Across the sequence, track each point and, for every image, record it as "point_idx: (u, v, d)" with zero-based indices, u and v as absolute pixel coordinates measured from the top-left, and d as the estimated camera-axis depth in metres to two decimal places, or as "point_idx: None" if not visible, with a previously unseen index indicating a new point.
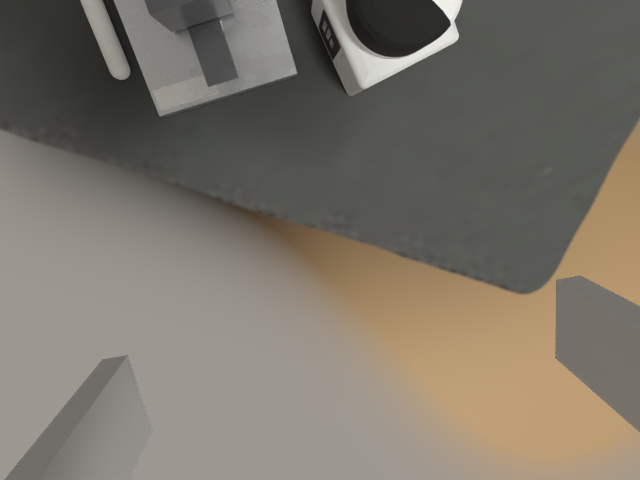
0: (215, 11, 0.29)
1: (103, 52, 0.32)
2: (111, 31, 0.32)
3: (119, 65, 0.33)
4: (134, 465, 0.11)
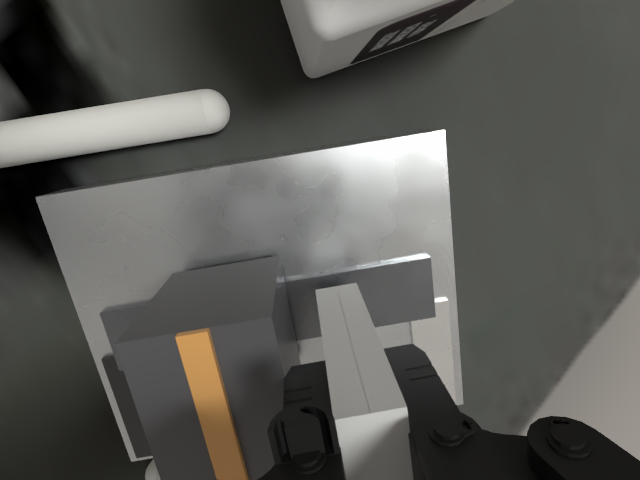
0: (283, 301, 0.14)
1: None
2: None
3: None
4: None
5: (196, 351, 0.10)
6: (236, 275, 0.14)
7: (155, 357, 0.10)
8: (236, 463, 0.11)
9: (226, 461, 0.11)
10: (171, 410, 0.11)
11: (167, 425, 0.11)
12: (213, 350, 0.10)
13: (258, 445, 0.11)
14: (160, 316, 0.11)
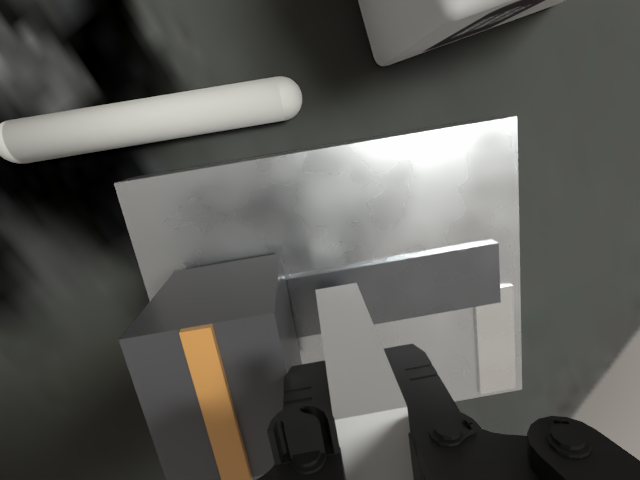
0: (284, 298, 0.14)
1: None
2: None
3: None
4: None
5: (200, 346, 0.10)
6: (237, 272, 0.14)
7: (159, 353, 0.10)
8: (239, 457, 0.11)
9: (229, 456, 0.11)
10: (174, 406, 0.11)
11: (171, 421, 0.11)
12: (215, 346, 0.10)
13: (260, 440, 0.11)
14: (163, 313, 0.11)
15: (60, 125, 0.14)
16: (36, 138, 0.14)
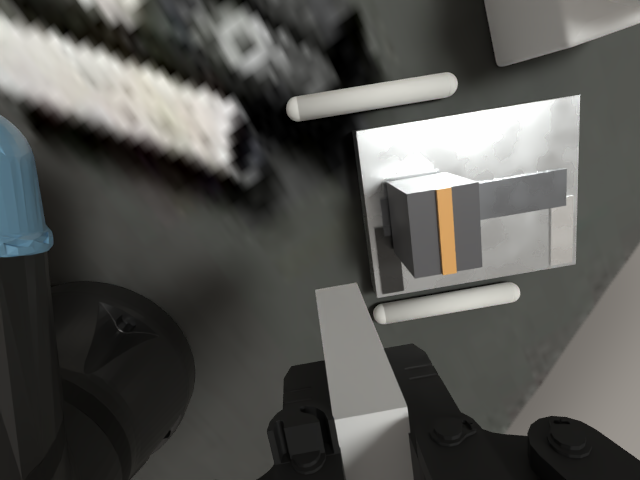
0: None
1: (495, 304, 0.31)
2: (476, 292, 0.31)
3: (511, 292, 0.31)
4: None
5: (444, 197, 0.22)
6: (431, 178, 0.25)
7: (423, 201, 0.22)
8: (453, 258, 0.23)
9: (448, 257, 0.23)
10: (425, 230, 0.22)
11: (422, 238, 0.23)
12: (451, 197, 0.22)
13: (462, 250, 0.23)
14: (414, 188, 0.23)
15: (329, 99, 0.26)
16: (315, 106, 0.26)
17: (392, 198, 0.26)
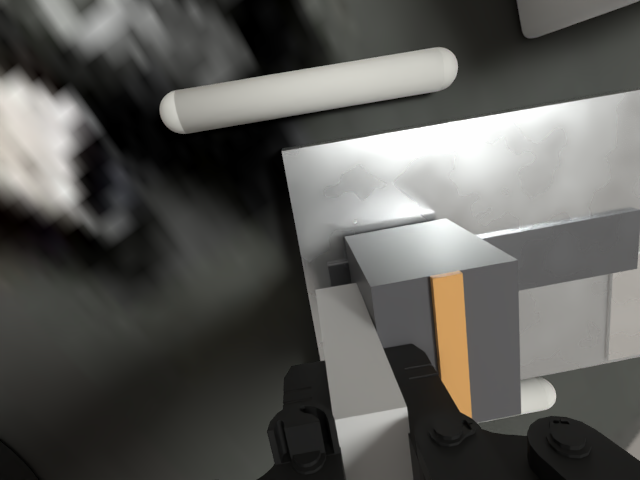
0: None
1: None
2: None
3: (543, 396, 0.20)
4: None
5: (449, 292, 0.11)
6: (421, 234, 0.14)
7: (405, 300, 0.11)
8: (465, 404, 0.12)
9: (457, 402, 0.12)
10: None
11: None
12: (463, 292, 0.11)
13: (483, 387, 0.12)
14: (388, 266, 0.12)
15: (231, 94, 0.15)
16: (207, 107, 0.15)
17: (353, 269, 0.14)
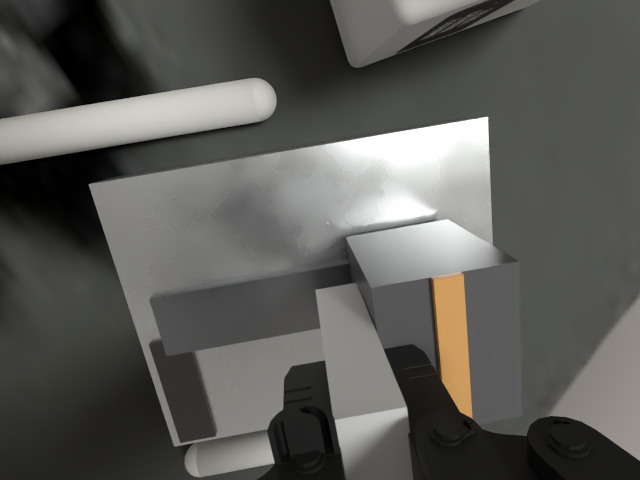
0: None
1: None
2: None
3: None
4: None
5: (450, 294, 0.10)
6: (422, 234, 0.14)
7: (406, 301, 0.11)
8: (466, 406, 0.12)
9: (458, 404, 0.11)
10: None
11: None
12: (464, 294, 0.11)
13: (484, 389, 0.12)
14: (389, 267, 0.12)
15: (34, 126, 0.14)
16: (10, 139, 0.14)
17: (354, 270, 0.14)
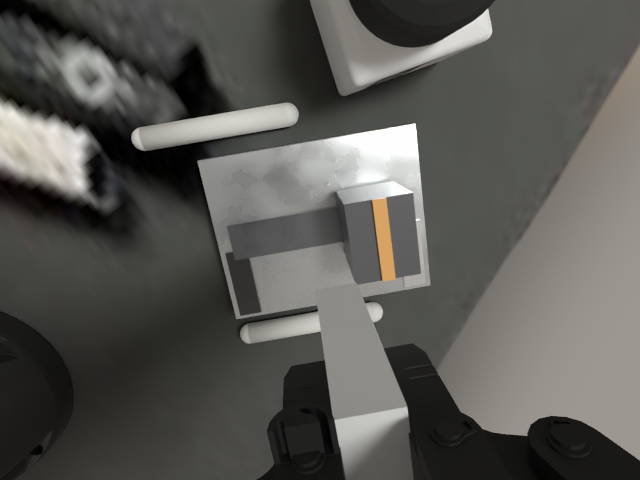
0: None
1: None
2: None
3: (372, 312, 0.31)
4: None
5: (380, 207, 0.23)
6: (376, 187, 0.26)
7: (360, 211, 0.23)
8: (391, 265, 0.24)
9: (387, 264, 0.24)
10: (363, 238, 0.23)
11: (361, 246, 0.23)
12: (387, 207, 0.23)
13: (401, 258, 0.24)
14: (354, 198, 0.24)
15: (169, 130, 0.27)
16: (156, 137, 0.27)
17: (339, 207, 0.27)
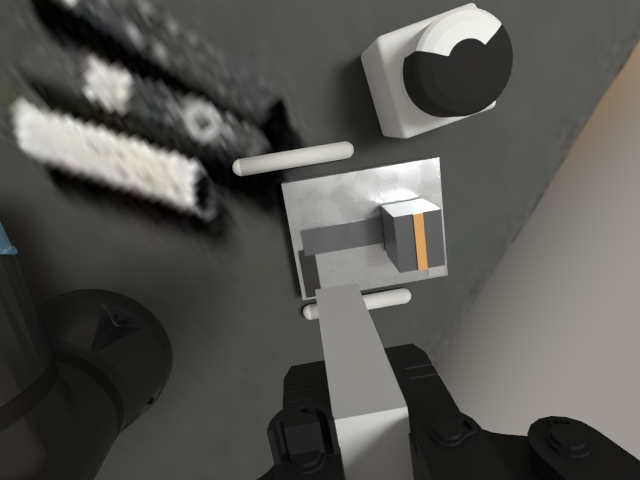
0: None
1: (392, 304, 0.42)
2: (378, 295, 0.42)
3: (403, 295, 0.42)
4: None
5: (418, 219, 0.33)
6: (411, 203, 0.37)
7: (404, 221, 0.33)
8: (425, 259, 0.34)
9: (422, 258, 0.34)
10: (406, 240, 0.34)
11: (404, 246, 0.34)
12: (423, 219, 0.33)
13: (431, 254, 0.34)
14: (399, 212, 0.34)
15: (261, 161, 0.37)
16: (252, 166, 0.37)
17: (384, 217, 0.37)
